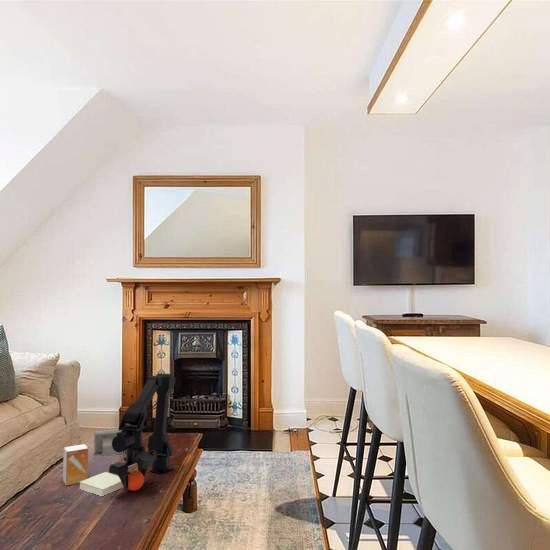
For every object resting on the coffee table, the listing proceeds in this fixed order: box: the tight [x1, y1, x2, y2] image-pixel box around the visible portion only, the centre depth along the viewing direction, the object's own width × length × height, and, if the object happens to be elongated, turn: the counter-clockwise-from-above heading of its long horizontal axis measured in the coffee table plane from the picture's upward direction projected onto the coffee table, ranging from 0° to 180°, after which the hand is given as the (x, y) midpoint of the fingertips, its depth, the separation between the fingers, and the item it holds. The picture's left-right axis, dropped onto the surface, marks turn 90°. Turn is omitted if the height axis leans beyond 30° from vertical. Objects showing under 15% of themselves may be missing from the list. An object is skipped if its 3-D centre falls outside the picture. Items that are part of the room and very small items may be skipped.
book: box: [79, 471, 124, 497], centre depth 182 cm, size 12×13×3 cm
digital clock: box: [93, 428, 124, 457], centre depth 222 cm, size 16×9×11 cm, turn 98°
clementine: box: [127, 470, 145, 491], centre depth 180 cm, size 8×7×7 cm
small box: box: [62, 443, 89, 486], centre depth 189 cm, size 8×6×13 cm
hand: (133, 485), depth 180 cm, fingers closed on clementine, 7 cm apart
